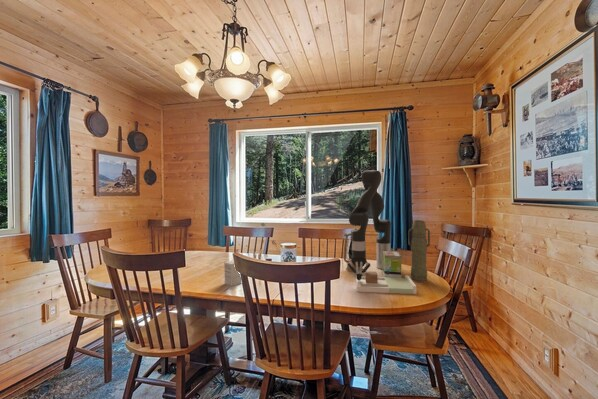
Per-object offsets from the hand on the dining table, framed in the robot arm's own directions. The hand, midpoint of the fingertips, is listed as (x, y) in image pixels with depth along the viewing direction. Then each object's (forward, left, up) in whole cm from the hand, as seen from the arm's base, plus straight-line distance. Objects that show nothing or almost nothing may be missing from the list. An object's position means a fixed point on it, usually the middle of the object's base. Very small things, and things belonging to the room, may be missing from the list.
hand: (358, 280), depth 165 cm
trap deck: (0, +14, -3) cm, 14 cm away
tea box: (-21, +21, -4) cm, 30 cm away
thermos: (-17, +36, -3) cm, 40 cm away
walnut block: (0, +7, -1) cm, 7 cm away
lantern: (-36, -1, -3) cm, 36 cm away
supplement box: (+5, -71, -4) cm, 72 cm away
